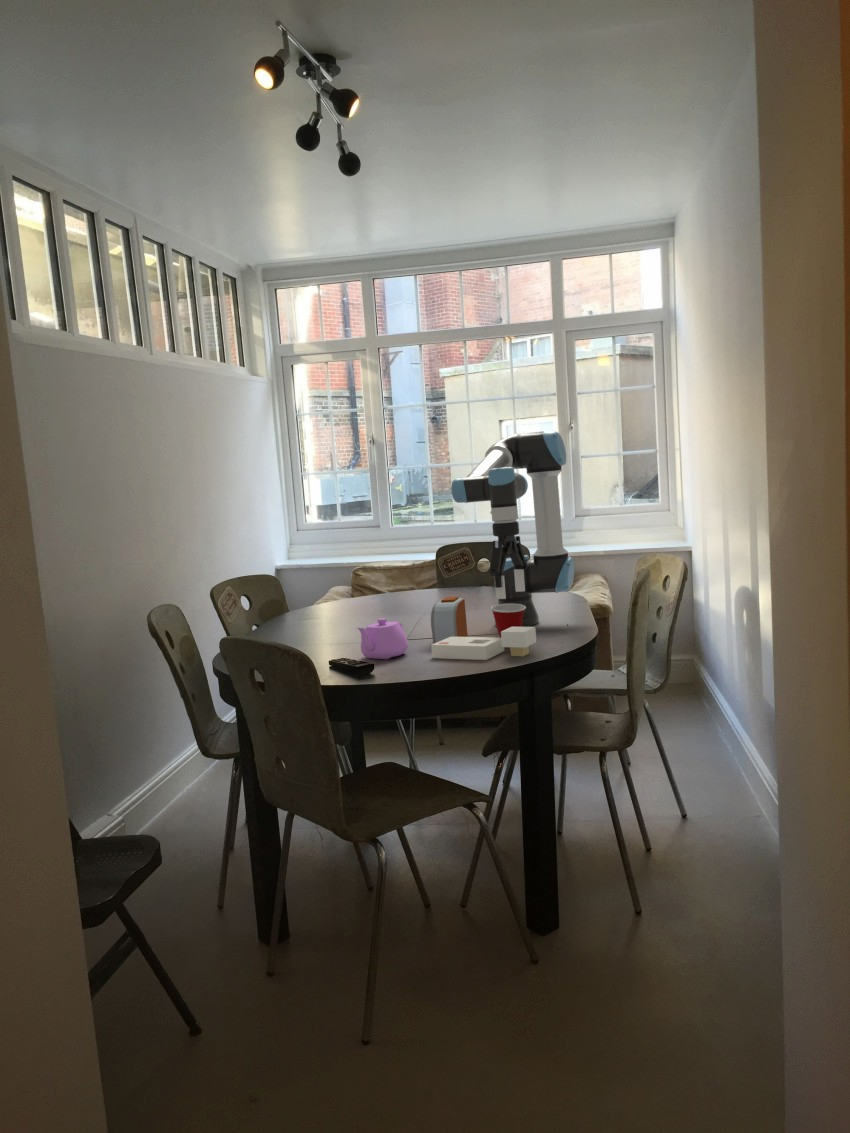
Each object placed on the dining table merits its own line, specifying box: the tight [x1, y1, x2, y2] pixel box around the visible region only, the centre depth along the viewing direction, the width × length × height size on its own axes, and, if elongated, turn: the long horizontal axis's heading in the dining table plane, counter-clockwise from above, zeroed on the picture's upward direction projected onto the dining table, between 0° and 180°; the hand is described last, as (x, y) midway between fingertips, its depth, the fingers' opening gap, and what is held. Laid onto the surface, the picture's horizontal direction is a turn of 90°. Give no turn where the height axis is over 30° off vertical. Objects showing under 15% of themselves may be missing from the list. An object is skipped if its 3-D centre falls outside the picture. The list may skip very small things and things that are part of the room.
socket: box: [430, 636, 505, 661], centre depth 266 cm, size 12×18×4 cm, turn 59°
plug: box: [501, 626, 537, 657], centre depth 259 cm, size 8×8×8 cm
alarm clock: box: [430, 596, 469, 644], centre depth 289 cm, size 15×8×14 cm, turn 164°
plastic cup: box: [490, 604, 526, 638], centre depth 275 cm, size 11×11×12 cm
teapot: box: [357, 617, 409, 661], centre depth 273 cm, size 20×13×12 cm, turn 142°
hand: (510, 595), depth 258 cm, fingers open, 13 cm apart
